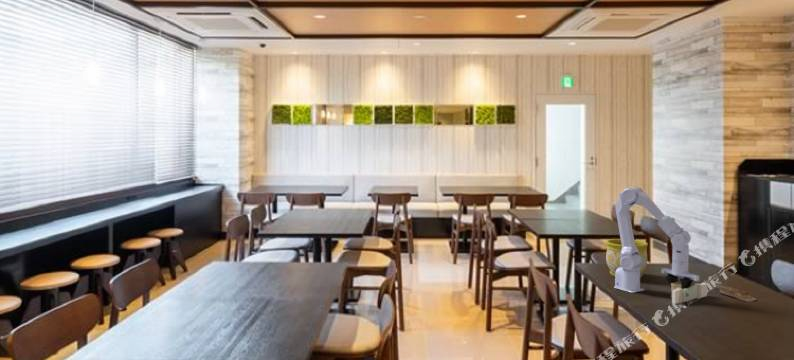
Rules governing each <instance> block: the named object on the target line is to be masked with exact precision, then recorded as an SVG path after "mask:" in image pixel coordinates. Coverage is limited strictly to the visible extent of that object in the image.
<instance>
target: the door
mask: <svg viewBox="0 0 794 360" xmlns="http://www.w3.org/2000/svg"><path fill="white" fill-rule="evenodd" d="M697 291H698V286H696V285H692V286H691V285H690V287H688V288H685V289H683V293H682V303H685V302H689V301H692V300H694V299H698V298H697Z"/></svg>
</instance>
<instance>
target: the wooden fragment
mask: <svg viewBox="0 0 794 360" xmlns="http://www.w3.org/2000/svg"><path fill="white" fill-rule="evenodd" d="M714 286H715V287H716V288H717V290H718V292H719V293H720V295H724V296H725V295H726V296H727V297H728V296H729V297H732V298H735V299H738V300H741V301H745V303H750V302H751V303H752V302H755V301H758V298H756V297H754V296H751V295H750V294H747V292H746V291H744V290H742V289H741V290H740V289H738V288H735V287H732V286H727V285H721V284H714Z"/></svg>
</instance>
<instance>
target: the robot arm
mask: <svg viewBox="0 0 794 360" xmlns="http://www.w3.org/2000/svg"><path fill="white" fill-rule="evenodd" d="M634 205H637V206H640V207H643V208H645V209H646V210H647V212H649V213H650V214H651V216H653V217H654V218H655V219H656V220H657V226H658V227H659V228H660V229H661V230H662V231H663V232H664V233H665V234H666V235H667V236H668V238H670V243H671V244H672V249H671V251H672V255H671V256H672V257H671V258H672V259H671V268H665V267H664V268H663V267H662V268H661V274H665V275H666V276H665V279H666V280H667V282H668V283H669V284H668V285H669V287H670V289H671V283H674V282H681V286H682V289H685V288H688V287H691V285H692V283H693V282H699V281H700V275H698V274H694V273H691V272H689V255H690V253H689V252H690V251H689V247H690V246H689V243H690V242H691V238H692V237H691V235H690V233H689V231H687V230H684V228H683V227H681V226H680V225H679V224H678V223H677V222H676V218H674V217H671V216H669V215H665V214H664V212H662V210H661V209H660V208H659V207H658V206H657V204H655V202H654V201H653V200H652V199H651V197H650V196H649V194H647V192H645V191H644V190H643V189H642V188H641V187H639V186H633V187H632V186H631V187H627V188H624V189H623V190H622V191H621V192H620V193H619V194H618V199H617V202H616V204H615V205H614V207H615V208H614V209H615V212H616V219H617V226H618V230H619V237H620V238H619V239H621V244H622V250H621V259H620V265H621V267H619V268H618V269H617V270H616V273H615V277H614V286H613V288H614V289H618V290H621V291H624V292H628V293H631V294H635V293H637V292H643V291H645V288H641V278H640V267H639V265H641V263H642V257H641V256H640V254H639V252H638V249H637V248H636V246H635V241H634V240H635V237H634V231H633V225H632V221H631V213H630V210H631V208H632V207H634ZM679 278H680V279H679Z"/></svg>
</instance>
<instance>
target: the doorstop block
mask: <svg viewBox="0 0 794 360" xmlns="http://www.w3.org/2000/svg"><path fill="white" fill-rule="evenodd" d="M676 288H682V286H681V281H678V282H674V283H671V288H670V298H671V299H672V290H675V289H676Z"/></svg>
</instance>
